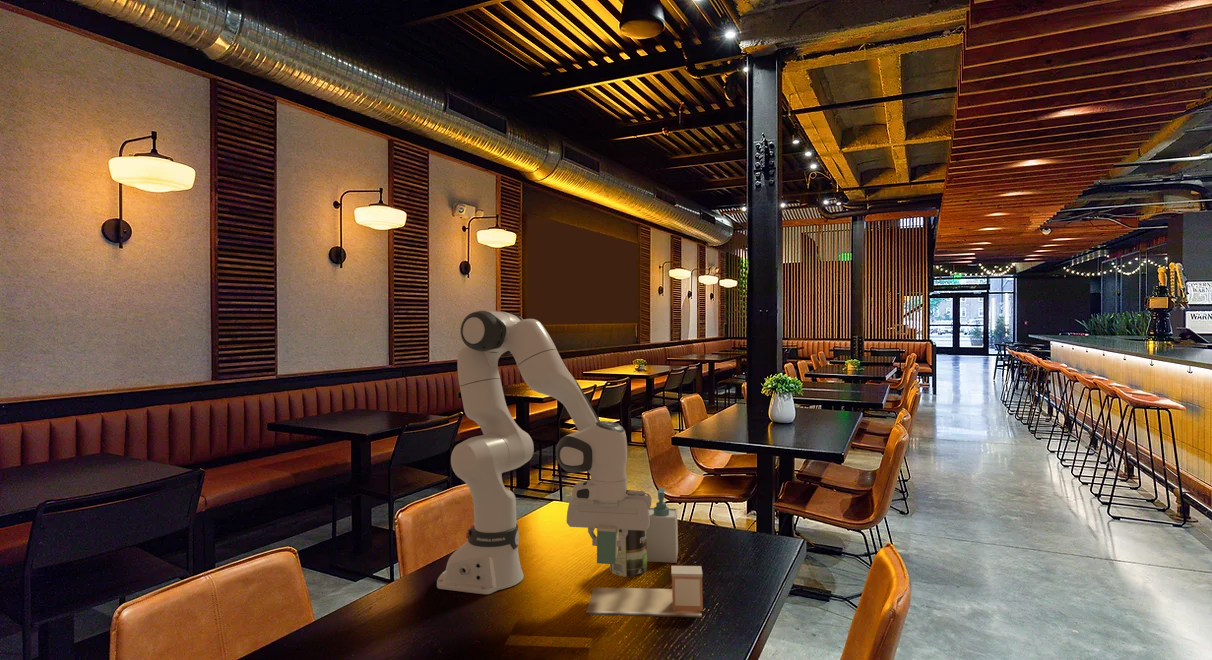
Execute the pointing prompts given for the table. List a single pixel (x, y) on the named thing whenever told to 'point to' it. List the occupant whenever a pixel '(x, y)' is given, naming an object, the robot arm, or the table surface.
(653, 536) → the soap bottle
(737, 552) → the table surface
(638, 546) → the coffee can
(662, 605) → the shelf board
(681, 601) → the rust tin
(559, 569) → the table surface
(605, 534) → the green tin
